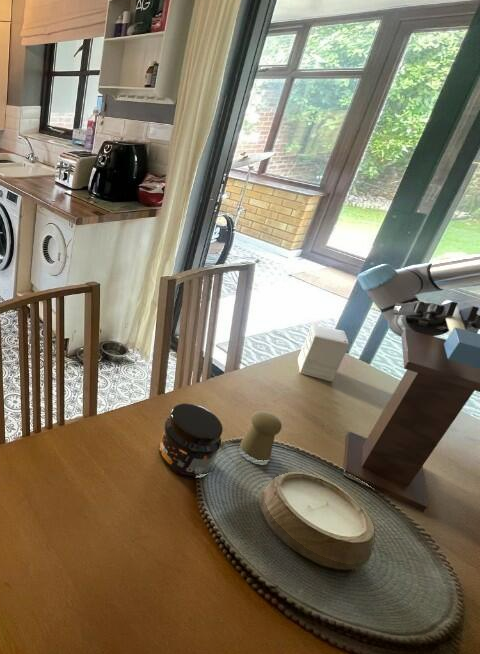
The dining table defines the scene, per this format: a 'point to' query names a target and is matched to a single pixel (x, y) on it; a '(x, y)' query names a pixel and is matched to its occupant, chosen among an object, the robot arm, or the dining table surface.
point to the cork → (261, 435)
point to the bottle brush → (461, 342)
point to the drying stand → (412, 421)
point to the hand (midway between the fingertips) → (462, 311)
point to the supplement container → (190, 440)
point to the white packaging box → (322, 352)
